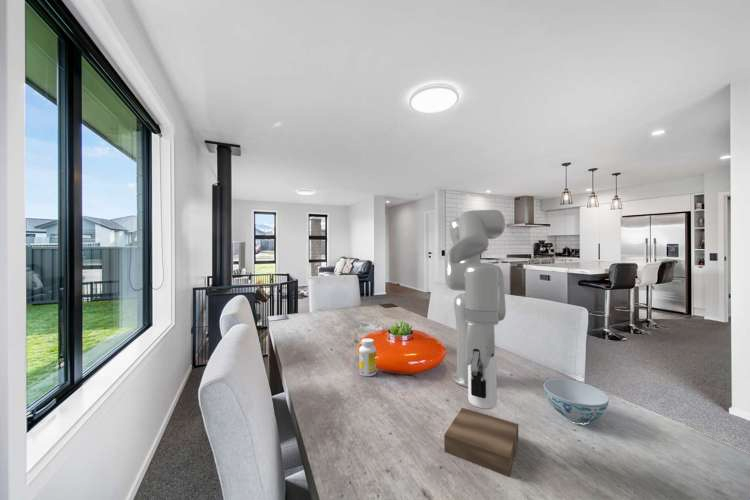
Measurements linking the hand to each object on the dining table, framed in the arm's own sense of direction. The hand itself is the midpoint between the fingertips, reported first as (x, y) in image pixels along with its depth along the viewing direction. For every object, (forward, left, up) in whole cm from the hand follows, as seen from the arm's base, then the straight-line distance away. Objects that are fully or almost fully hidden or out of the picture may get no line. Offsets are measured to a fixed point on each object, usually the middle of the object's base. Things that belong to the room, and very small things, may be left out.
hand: (482, 389), depth 70 cm
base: (0, 0, -14) cm, 14 cm away
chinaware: (-26, +19, -14) cm, 35 cm away
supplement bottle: (-19, -47, -14) cm, 53 cm away
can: (0, 0, -3) cm, 3 cm away
